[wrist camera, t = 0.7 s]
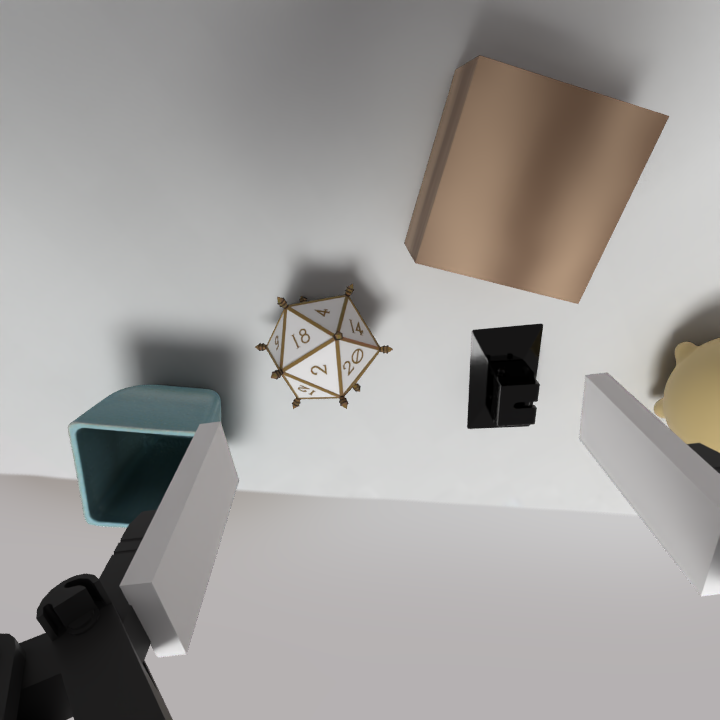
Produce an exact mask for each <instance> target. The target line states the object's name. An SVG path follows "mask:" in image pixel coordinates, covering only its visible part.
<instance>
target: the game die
mask: <svg viewBox="0 0 720 720" xmlns="http://www.w3.org/2000/svg"><path fill="white" fill-rule="evenodd" d="M345 291H346V293H345V295H340V296H334V297H329V298H323V299H318V300H312V301H307V300H306V299H307V298H305V297H302V296H301V298H300V299H299V300H300V302H301V303H296V304H291V305H287V302H286V301H285V299H284V298H280V297H277V299H278V304H279V305H280V307H283V308H284V310H283V312H282V314H281V316H280V318H279V320H278V323H277V325H276V327H275V329H274V331H273V333H272V335H271V337H270V340H269V342H268V344H267V345H265V344H264V343H263V344H261V343H259V345H257V346H256V347H255V348H257V349H258V350H259V351H261V350H262V351H263V350H265V349H266V350H267V351H268V353H269V355H270V356H271V358H272V360H273V362H274V363H275V365H276V367H277V369H278V370H275V372H272V376H271V378H274V379H278V378H280V377H281V375H282V377H283V378H284V380H285V381H286V383H287V384H288V386H289V387H290V389H291V390H292V392H293V393H294V395H295V396H296V399H294V400H293V401H294V402H293V403H292V404H293V409H294V408H296V407H298V406H299V404H300V400H301V399H328V398H339V399H340V401H339V403H340V406H343V407H344V408H346V409H347V404H348V401H347V399H346V398H345V397H344V396H345V395H346V394H347V393H348V392H349V391H350V390H351V388H352V387H353V389H354V390H355V391H359V392H360V386H359V384H356V383H357V381H358V380H359V379H360V377H361V376H362V375H363V373H364V372H365V371H366V369H367V368H368V367H369V365H370V364H371V363H372V361H373V360H374V359H375V357H376V356H377V355H378V353H379V352H383V353H387V354H388V352H390V351H391V350H393V349H392V348H390V347H389V346H388V345H387V346H383V347H380V346H379V344H378V343H377V341H376V339H375V338H374V336H373V335H372V333H371V331H370V330H369V328H368V326H367V325H366V323H365V322H364V320H363V318H362V317H361V315H360V313H359V312H358V310H357V308H356V307H355V305H354V304H353V302H352V300H351V299H350V297H349V296H350V295H351V294H352V292H353V291H354V289H353V284H351V285H350V286H348V287H347V289H346V290H345Z"/></svg>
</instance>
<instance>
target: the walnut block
mask: <svg viewBox="0 0 720 720" xmlns="http://www.w3.org/2000/svg"><path fill="white" fill-rule="evenodd" d="M668 118H669V116H667V115H664V114H661V113H658V112H655V111H651V110H648V109H645V108H642V107H639V106H636V105H633V104H630V103H627V102H623V101H620V100H617V99H614V98H611V97H608V96H605V95H602V94H599V93H596V92H592V91H589V90H586V89H583V88H580V87H577V86H574V85H571V84H568V83H564V82H561V81H558V80H555V79H552V78H549V77H546V76H543V75H540V74H537V73H533V72H530V71H527V70H524V69H521V68H518V67H515V66H512V65H509V64H505V63H502V62H499V61H496V60H493V59H490V58H487V57H484V56H481V55H479V56H478V57H476V58H474V59H473V60H471V61H469V62H468V63H466V64H464V65H463V66H461V67H459V68H458V69H456V70H455V73H454V76H453V80H452V83H451V86H450V90H449V93H448V96H447V100H446V103H445V107H444V110H443V113H442V117H441V120H440V124H439V127H438V130H437V134H436V137H435V141H434V144H433V147H432V151H431V154H430V158H429V161H428V164H427V168H426V171H425V174H424V178H423V181H422V185H421V188H420V191H419V195H418V198H417V202H416V205H415V208H414V212H413V215H412V219H411V222H410V225H409V229H408V232H407V235H406V239H405V242H404V244H405V245H406V247H407V249H408V251H409V253H410V254H411V256H412V258H413V260H414V262H415V263H418V264H422V265H426V266H429V267H433V268H437V269H441V270H445V271H449V272H453V273H457V274H461V275H465V276H469V277H473V278H477V279H481V280H485V281H489V282H493V283H497V284H501V285H505V286H509V287H513V288H517V289H521V290H525V291H529V292H533V293H537V294H541V295H545V296H549V297H553V298H557V299H561V300H565V301H569V302H573V303H577V304H578V303H579V301H580V299H581V297H582V295H583V293H584V291H585V289H586V287H587V285H588V283H589V281H590V279H591V277H592V274H593V272H594V270H595V268H596V266H597V264H598V262H599V260H600V258H601V256H602V254H603V252H604V250H605V248H606V246H607V243H608V241H609V239H610V237H611V235H612V233H613V231H614V229H615V227H616V225H617V223H618V221H619V219H620V217H621V215H622V213H623V210H624V208H625V206H626V204H627V202H628V200H629V198H630V196H631V194H632V192H633V190H634V188H635V186H636V184H637V182H638V180H639V177H640V175H641V173H642V171H643V169H644V167H645V165H646V163H647V161H648V159H649V157H650V155H651V153H652V151H653V149H654V146H655V144H656V142H657V140H658V138H659V136H660V134H661V132H662V130H663V128H664V126H665V124H666V122H667V120H668Z"/></svg>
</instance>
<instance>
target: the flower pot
mask: <svg viewBox="0 0 720 720" xmlns="http://www.w3.org/2000/svg"><path fill="white" fill-rule="evenodd" d="M220 421H221V400H220V396H219V395H218V393H217V392H215V391H213V390H211V389H202V388H189V387H178V386H167V385H139V386H133V387H128V388H125V389H122V390H119V391H117V392H115V393H113V394H111V395H109V396H108V397H106V398H105V399H103V400H102V401H101V402H99V403H98V404H96V405H95V406H94V407H92V408H91V409H89V410H88V411H87V412H85V413H84V414H82V415H81V416H80V417H78V418H77V419H76V420H74V421H73V422H71V423H70V424H69V426H68V432H69V437H70V443H71V447H72V452H73V457H74V462H75V468H76V473H77V478H78V484H79V489H80V496H81V501H82V506H83V512H84V517H85V520H86V522H87V523H88V524H91V525H95V526H102V527H103V526H104V527H121V528H123V527H124V528H127V527H128V525H129V524H130V523H131V522H132V521H133V520H134V519H135V518H136V517H137V516H138V515H139V514H140V513H141V512H142V511H150V510H157V509H158V507H159V505H160V503H161V501H162V499H163V497H164V495H165V493H166V491H167V489H168V487H169V485H170V483H171V481H172V479H173V477H174V475H175V473H176V471H177V469H178V467H179V465H180V463H181V461H182V459H183V457H184V455H185V453H186V451H187V449H188V447H189V445H190V443H191V441H192V439H193V437H194V435H195V433H196V431H197V429H198V427H199V425H200V424H204V423H212V422H220Z"/></svg>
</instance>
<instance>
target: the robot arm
mask: <svg viewBox="0 0 720 720" xmlns="http://www.w3.org/2000/svg"><path fill="white" fill-rule="evenodd" d="M579 439H580V441H581V442H582V443H583V445H584V446H585V447H586V448H587V450H588V451H589V452H590V454H591V455H592V456H593V458H594V459H595V460H596V461H597V463H598V464H599V465H600V467H601V468H602V469H603V470H604V472H605V473H606V474H607V476H608V477H609V478H610V479H611V481H612V482H613V483H614V485H615V486H616V487H617V489H618V490H619V491H620V492H621V494H622V495H623V496H624V498H625V499H626V500H627V501H628V503H629V504H630V505H631V507H632V508H633V509H634V510H635V512H636V513H637V514H638V516H639V517H640V518H641V519H642V521H643V522H644V523H645V525H646V526H647V527H648V528H649V530H650V531H651V532H652V534H653V535H654V536H655V538H656V539H657V540H658V541H659V543H660V544H661V545H662V547H663V548H664V549H665V551H666V552H667V553H668V554H669V556H670V557H671V558H672V560H673V561H674V562H675V563H676V565H677V566H678V567H679V569H680V570H681V571H682V573H683V574H684V575H685V576H686V578H687V579H688V580H689V581H690V583H691V584H692V585H693V587H694V588H695V589H696V591H697V592H698V593H699V594H700V596H708V595H717V594H720V453H719V452H717V451H715V450H713V449H711V448H709V447H707V446H705V445H703V444H701V443H692V444H686V443H685V442H684V441H683V440H681V439H680V438H679V437H678V436H677V435H676V434H675V433H674V432H673V431H671V430H670V429H669V428H668V427H667V426H666V425H665V424H664V423H663V422H661V421H660V420H659V419H658V418H657V417H656V416H655V415H654V414H653V413H651V412H650V411H649V410H648V409H647V408H646V407H645V406H644V405H643V404H642V403H640V402H639V401H638V400H637V399H636V398H635V397H634V396H633V395H632V394H630V393H629V392H628V391H627V390H626V389H625V388H624V387H623V386H622V385H620V384H619V383H618V382H617V381H616V380H615V379H614V378H613V377H612V376H611V375H609V374H608V373H599V374H591V375H585V384H584V394H583V404H582V413H581V423H580V433H579ZM238 482H239V478H238V475H237V472H236V469H235V466H234V462H233V459H232V456H231V453H230V450H229V447H228V443H227V440H226V437H225V434H224V431H223V428H222V424H221V421H220V422H212V423H204V424H200V425H199V427H198V429H197V431H196V433H195V435H194V437H193V439H192V441H191V443H190V445H189V447H188V449H187V451H186V453H185V455H184V457H183V459H182V461H181V463H180V465H179V467H178V469H177V471H176V473H175V475H174V477H173V479H172V481H171V483H170V485H169V487H168V489H167V491H166V493H165V495H164V497H163V499H162V501H161V503H160V505H159V507H158V509H157V510H150V511H142V512H141V513H140V514H139V515H138V516H137V517H136V518H135V519H134V520H133V521H132V522H131V523H130V524H129V525H128V527H127V529H126V531H125V532H124V534H123V536H122V538H121V542H120V543H118V546H117V547H116V549H115V551H114V555H112V556H111V558H110V560H109V562H108V563H107V565H106V567H105V569H104V571H103V572H102V574H101V576H100V578H99V579H98V578H97V577H96V576H95V575H91V574H81V575H76V576H74V577H71V578H69V579H67V580H65V581H63V582H62V583H60V584H59V585H57V586H56V587H55V588H53V589H52V590H51V591H50V592H49V593H48V594H47V595H46V596H45V597H44V598H43V600H42V601H41V603H40V605H39V607H38V609H37V617H36V618H37V620H38V622H39V623H40V624H41V626H42V627H43V629H44V630H45V632H46V633H44V634H42V635H39V636H37V637H34V638H32V639H29V640H27V641H24V642H22V643H18V642H17V641H16V639H15V638H14V637H13V636H11V635H10V634H0V720H67V719H69V718H71V717H74V720H173V719H172V717H171V715H170V713H169V711H168V709H167V707H166V705H165V703H164V700H163V698H162V696H161V694H160V692H159V690H158V688H157V686H156V683H155V681H154V679H153V677H152V675H151V673H150V671H149V669H148V666H147V665H146V663H145V661H144V659H145V657H146V654H147V651H148V649H149V646H150V644H151V646H152V648H153V650H154V652H155V654H156V655H157V657H166V656H174V655H184V654H187V651H188V648H189V645H190V641H191V638H192V635H193V631H194V628H195V625H196V621H197V618H198V615H199V611H200V608H201V605H202V602H203V598H204V594H205V592H206V588H207V585H208V582H209V578H210V575H211V572H212V568H213V565H214V562H215V558H216V555H217V552H218V549H219V545H220V542H221V539H222V535H223V532H224V529H225V525H226V522H227V519H228V515H229V512H230V509H231V506H232V502H233V499H234V495H235V492H236V489H237V486H238Z"/></svg>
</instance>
